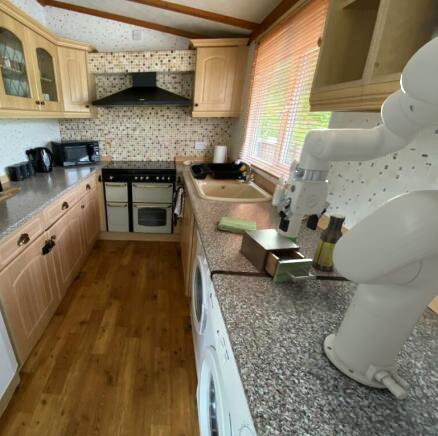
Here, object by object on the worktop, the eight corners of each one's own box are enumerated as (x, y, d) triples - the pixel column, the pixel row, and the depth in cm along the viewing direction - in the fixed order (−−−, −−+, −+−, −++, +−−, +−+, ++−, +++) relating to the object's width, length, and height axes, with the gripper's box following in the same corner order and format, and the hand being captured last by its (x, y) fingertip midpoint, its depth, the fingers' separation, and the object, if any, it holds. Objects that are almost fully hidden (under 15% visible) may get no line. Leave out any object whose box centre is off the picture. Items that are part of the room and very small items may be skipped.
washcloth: (257, 236, 110) (258, 230, 108) (217, 230, 115) (217, 224, 114) (255, 225, 121) (256, 219, 120) (219, 220, 126) (219, 214, 125)
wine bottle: (274, 235, 111) (290, 170, 99) (293, 238, 109) (312, 171, 97) (276, 243, 104) (293, 174, 93) (296, 246, 102) (317, 175, 90)
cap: (294, 274, 80) (298, 262, 78) (282, 275, 80) (285, 263, 78) (285, 266, 84) (288, 255, 83) (274, 267, 84) (276, 256, 82)
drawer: (318, 289, 75) (325, 269, 72) (285, 292, 74) (291, 272, 71) (280, 257, 92) (285, 240, 89) (252, 259, 90) (256, 242, 87)
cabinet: (293, 269, 86) (299, 247, 83) (260, 272, 85) (266, 249, 81) (268, 248, 100) (273, 228, 96) (240, 250, 98) (243, 230, 94)
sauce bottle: (336, 270, 86) (356, 219, 78) (322, 272, 85) (341, 220, 77) (320, 260, 92) (337, 211, 84) (307, 262, 90) (323, 213, 83)
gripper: (293, 178, 64) (279, 236, 71) (349, 177, 67) (331, 233, 73) (275, 172, 71) (264, 226, 78) (327, 171, 74) (312, 223, 80)
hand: (296, 229), depth 75 cm, fingers open, 9 cm apart
